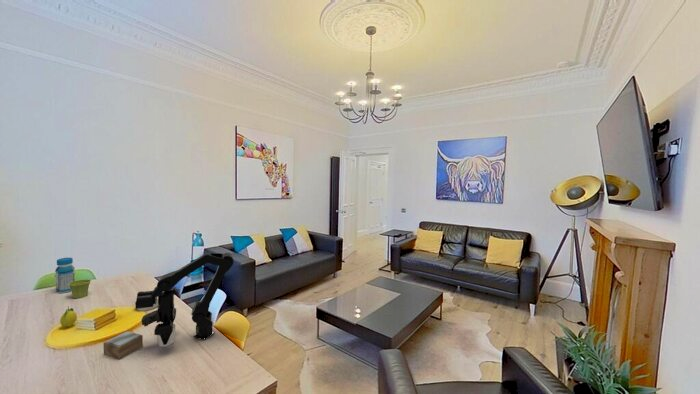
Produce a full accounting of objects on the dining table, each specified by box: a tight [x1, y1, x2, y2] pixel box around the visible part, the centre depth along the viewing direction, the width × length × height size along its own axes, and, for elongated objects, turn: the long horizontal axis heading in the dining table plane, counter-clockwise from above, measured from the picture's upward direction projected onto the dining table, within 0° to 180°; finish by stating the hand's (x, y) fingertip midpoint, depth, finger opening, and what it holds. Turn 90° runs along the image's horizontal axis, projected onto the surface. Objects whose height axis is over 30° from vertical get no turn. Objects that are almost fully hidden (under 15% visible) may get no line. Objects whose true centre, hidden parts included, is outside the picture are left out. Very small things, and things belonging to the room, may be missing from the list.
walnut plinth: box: [103, 330, 144, 360], centre depth 114 cm, size 9×9×5 cm
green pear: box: [59, 305, 78, 327], centre depth 129 cm, size 7×6×10 cm
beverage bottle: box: [54, 257, 76, 294], centre depth 168 cm, size 8×8×20 cm
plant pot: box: [68, 278, 92, 299], centre depth 161 cm, size 9×9×9 cm
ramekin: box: [134, 297, 158, 312], centre depth 151 cm, size 11×11×5 cm
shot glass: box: [156, 323, 176, 347], centre depth 120 cm, size 7×7×7 cm
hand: (166, 339), depth 120 cm, fingers open, 8 cm apart
